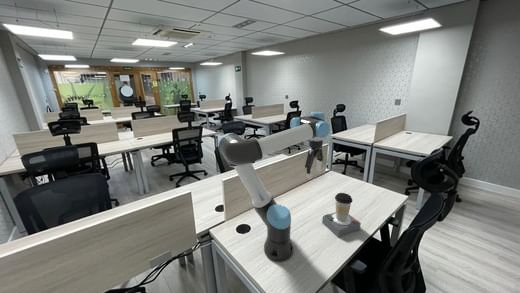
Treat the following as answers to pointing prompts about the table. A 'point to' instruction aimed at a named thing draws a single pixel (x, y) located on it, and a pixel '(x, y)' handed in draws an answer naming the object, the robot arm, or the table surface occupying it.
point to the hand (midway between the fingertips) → (313, 174)
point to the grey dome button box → (341, 225)
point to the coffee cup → (342, 206)
